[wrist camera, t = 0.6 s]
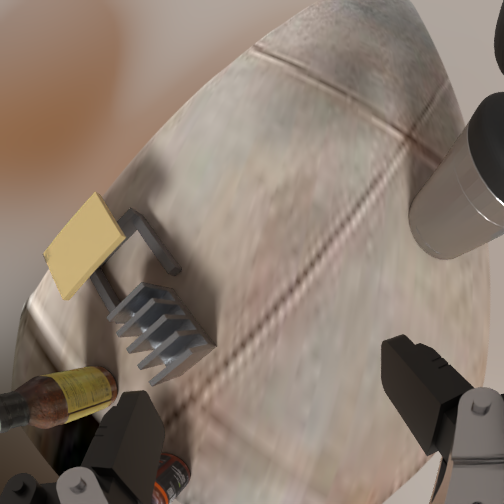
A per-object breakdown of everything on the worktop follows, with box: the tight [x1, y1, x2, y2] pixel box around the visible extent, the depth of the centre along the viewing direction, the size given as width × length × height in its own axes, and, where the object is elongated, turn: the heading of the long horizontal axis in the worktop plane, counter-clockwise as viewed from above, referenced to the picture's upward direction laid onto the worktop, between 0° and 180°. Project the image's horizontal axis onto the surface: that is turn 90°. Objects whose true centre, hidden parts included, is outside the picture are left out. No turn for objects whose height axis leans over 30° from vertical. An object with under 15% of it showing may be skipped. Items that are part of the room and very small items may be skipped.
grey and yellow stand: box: [43, 192, 182, 324], centre depth 34 cm, size 11×10×10 cm
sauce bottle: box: [0, 366, 117, 433], centre depth 27 cm, size 6×6×20 cm
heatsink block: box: [107, 282, 217, 386], centre depth 33 cm, size 6×9×8 cm, turn 40°
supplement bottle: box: [151, 453, 190, 504], centre depth 27 cm, size 6×6×11 cm
